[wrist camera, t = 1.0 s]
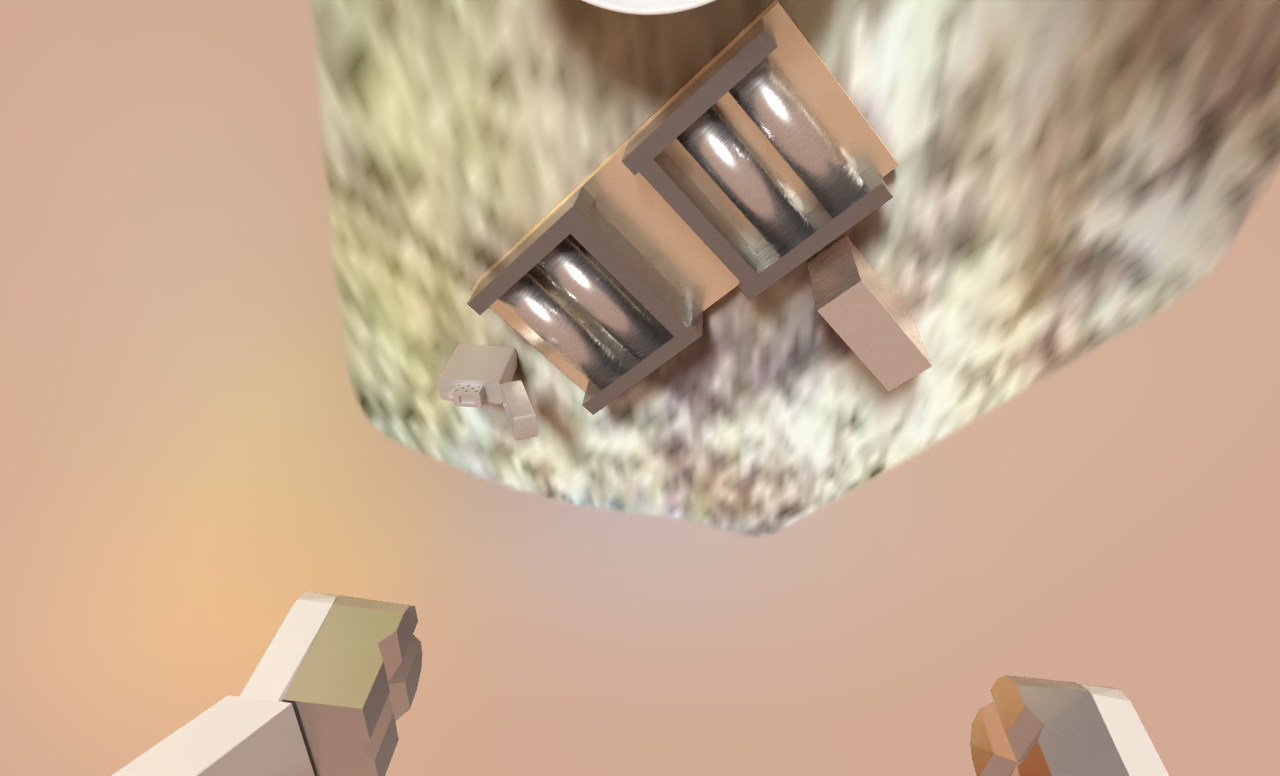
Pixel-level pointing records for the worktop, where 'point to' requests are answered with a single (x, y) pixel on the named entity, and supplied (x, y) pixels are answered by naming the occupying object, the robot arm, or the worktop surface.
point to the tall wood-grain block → (867, 314)
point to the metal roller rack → (692, 212)
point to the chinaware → (648, 6)
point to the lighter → (488, 384)
